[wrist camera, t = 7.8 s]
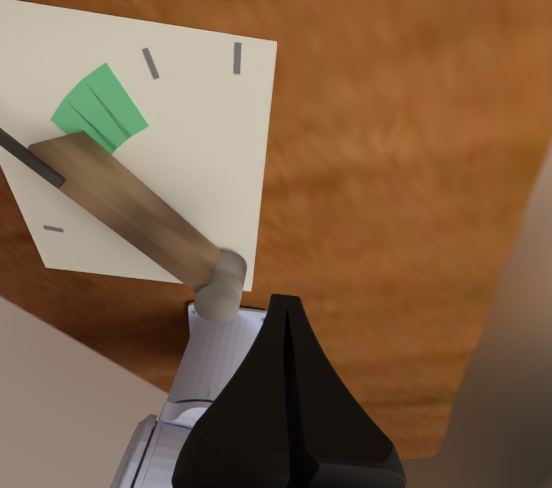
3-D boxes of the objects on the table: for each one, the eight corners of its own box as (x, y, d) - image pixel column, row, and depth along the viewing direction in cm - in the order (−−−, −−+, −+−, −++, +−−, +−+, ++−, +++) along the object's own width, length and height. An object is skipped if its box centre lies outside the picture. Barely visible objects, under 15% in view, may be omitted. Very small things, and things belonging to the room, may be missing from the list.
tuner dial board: (252, 284, 24) (250, 292, 23) (54, 260, 24) (44, 268, 23) (277, 43, 15) (276, 41, 14) (-57, -10, 14) (-82, -16, 13)
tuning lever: (254, 268, 21) (247, 310, 17) (229, 285, 22) (217, 328, 19) (66, 98, 15) (-9, 105, 11) (44, 134, 16) (-31, 151, 12)
